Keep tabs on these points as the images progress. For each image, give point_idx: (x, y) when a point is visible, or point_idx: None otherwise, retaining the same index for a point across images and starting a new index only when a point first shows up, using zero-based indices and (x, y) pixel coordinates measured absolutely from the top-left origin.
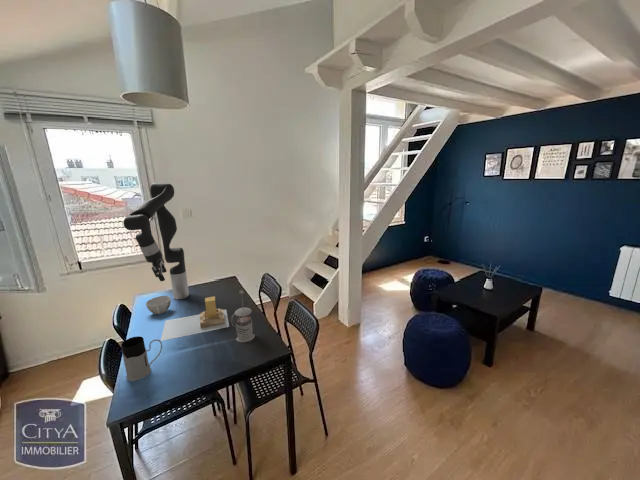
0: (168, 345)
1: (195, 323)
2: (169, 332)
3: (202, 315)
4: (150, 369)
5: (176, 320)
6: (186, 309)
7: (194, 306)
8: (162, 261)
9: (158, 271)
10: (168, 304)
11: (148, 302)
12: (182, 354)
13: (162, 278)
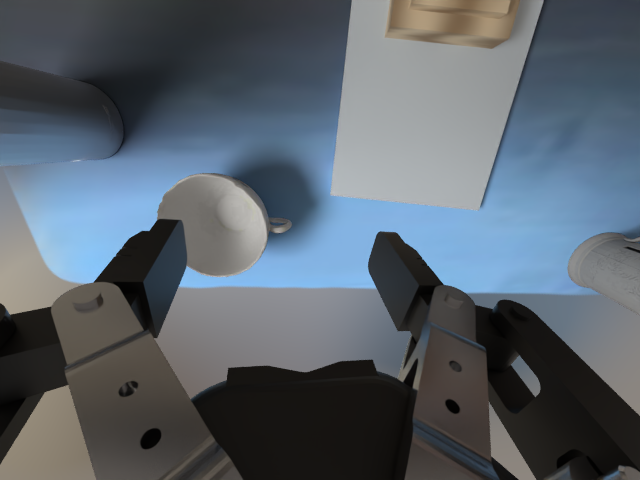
0: (510, 184)
1: (428, 69)
2: (437, 181)
3: (430, 15)
4: (615, 234)
5: (352, 152)
6: (248, 105)
7: (229, 62)
8: (106, 428)
9: (618, 405)
10: (244, 183)
11: (201, 266)
12: (608, 139)
13: (425, 265)
